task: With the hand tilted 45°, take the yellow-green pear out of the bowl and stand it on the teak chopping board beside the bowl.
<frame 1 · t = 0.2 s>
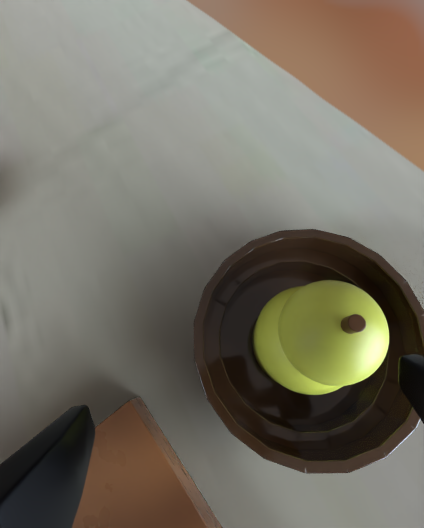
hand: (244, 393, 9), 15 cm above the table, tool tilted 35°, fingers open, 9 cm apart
pear: (295, 341, 23), resting on bowl
bowl: (293, 342, 23), on the table
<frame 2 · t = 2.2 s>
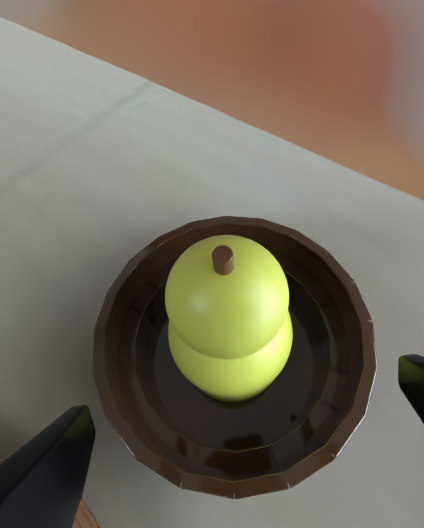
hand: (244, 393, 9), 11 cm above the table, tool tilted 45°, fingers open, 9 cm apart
pear: (231, 348, 20), resting on bowl
bowl: (231, 350, 20), on the table
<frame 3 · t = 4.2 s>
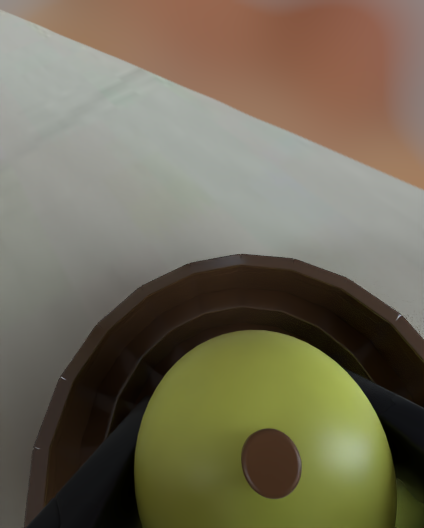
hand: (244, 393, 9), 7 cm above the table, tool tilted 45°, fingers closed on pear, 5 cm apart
pear: (248, 445, 13), point 1 cm above the table, touching bowl, gripper
bowl: (248, 445, 14), on the table
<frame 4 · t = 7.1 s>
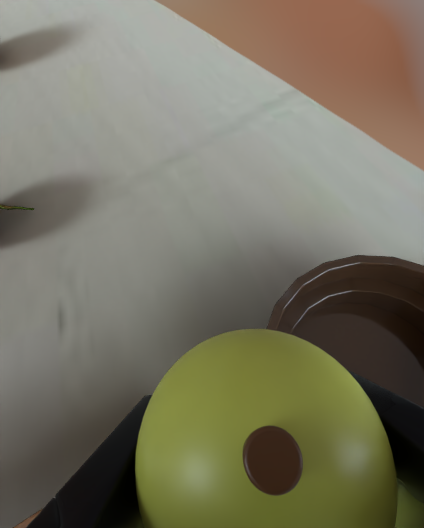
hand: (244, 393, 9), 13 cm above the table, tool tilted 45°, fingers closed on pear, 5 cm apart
pear: (248, 444, 14), point 7 cm above the table, touching gripper
bowl: (362, 382, 21), on the table
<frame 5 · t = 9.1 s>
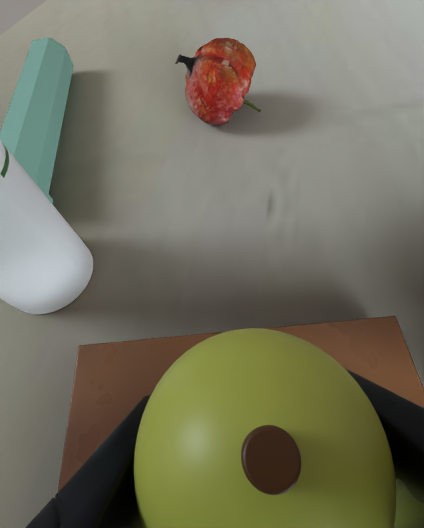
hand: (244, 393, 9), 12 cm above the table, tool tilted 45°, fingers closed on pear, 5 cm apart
pomegranate: (223, 115, 34), on the table
cylindrical container: (51, 274, 25), on the table
board: (246, 449, 18), on the table
pear: (247, 444, 14), point 6 cm above the table, touching gripper
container: (51, 135, 34), on the table
when the fingers open (9 cm above the table, at t = 10.4 s): pear stays where it is, resting on board.
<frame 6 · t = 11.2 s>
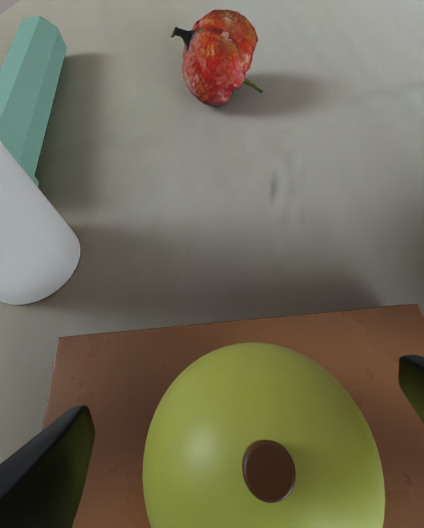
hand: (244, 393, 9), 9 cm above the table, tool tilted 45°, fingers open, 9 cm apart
pomegranate: (223, 97, 32), on the table
cylindrical container: (35, 262, 23), on the table
board: (248, 455, 16), on the table
pear: (248, 448, 14), point 2 cm above the table, touching board
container: (41, 118, 32), on the table
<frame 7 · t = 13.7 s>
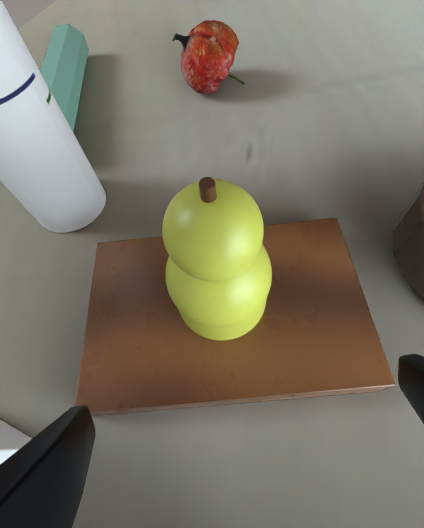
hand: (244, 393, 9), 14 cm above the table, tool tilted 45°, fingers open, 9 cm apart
pomegranate: (213, 88, 40), on the table
cylindrical container: (72, 205, 32), on the table
board: (224, 314, 24), on the table
pear: (221, 297, 22), point 2 cm above the table, touching board
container: (70, 105, 41), on the table
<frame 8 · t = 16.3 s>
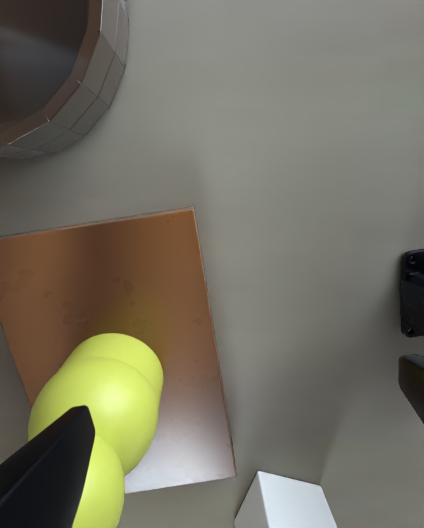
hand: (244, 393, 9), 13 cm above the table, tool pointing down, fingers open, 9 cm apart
board: (129, 354, 23), on the table
pear: (115, 376, 20), point 2 cm above the table, touching board
bowl: (1, 24, 17), on the table
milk: (276, 500, 27), on the table
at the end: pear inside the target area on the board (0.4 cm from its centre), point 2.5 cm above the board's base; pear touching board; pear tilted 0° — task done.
